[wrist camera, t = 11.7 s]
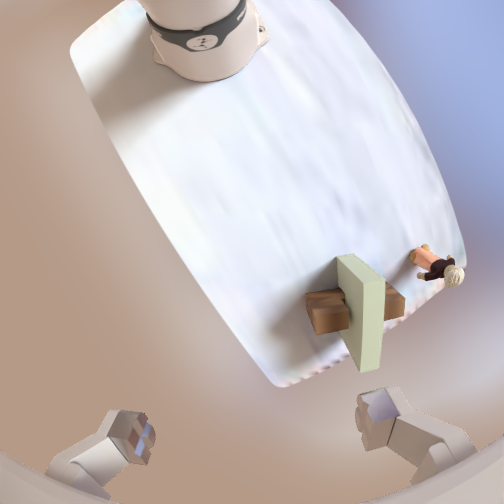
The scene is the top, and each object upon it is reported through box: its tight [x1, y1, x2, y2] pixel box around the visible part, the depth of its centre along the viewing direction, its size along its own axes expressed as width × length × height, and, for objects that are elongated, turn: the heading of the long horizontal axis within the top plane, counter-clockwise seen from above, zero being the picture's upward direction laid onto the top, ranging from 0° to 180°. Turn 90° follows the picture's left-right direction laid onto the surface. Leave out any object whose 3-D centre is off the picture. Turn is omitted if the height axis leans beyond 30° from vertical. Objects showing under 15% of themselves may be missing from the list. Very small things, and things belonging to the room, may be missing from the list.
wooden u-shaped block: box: [306, 281, 405, 335], centre depth 40 cm, size 14×3×8 cm, turn 99°
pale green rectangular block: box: [336, 254, 385, 373], centre depth 38 cm, size 14×3×12 cm, turn 9°
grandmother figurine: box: [410, 244, 464, 288], centre depth 36 cm, size 8×4×13 cm, turn 125°
